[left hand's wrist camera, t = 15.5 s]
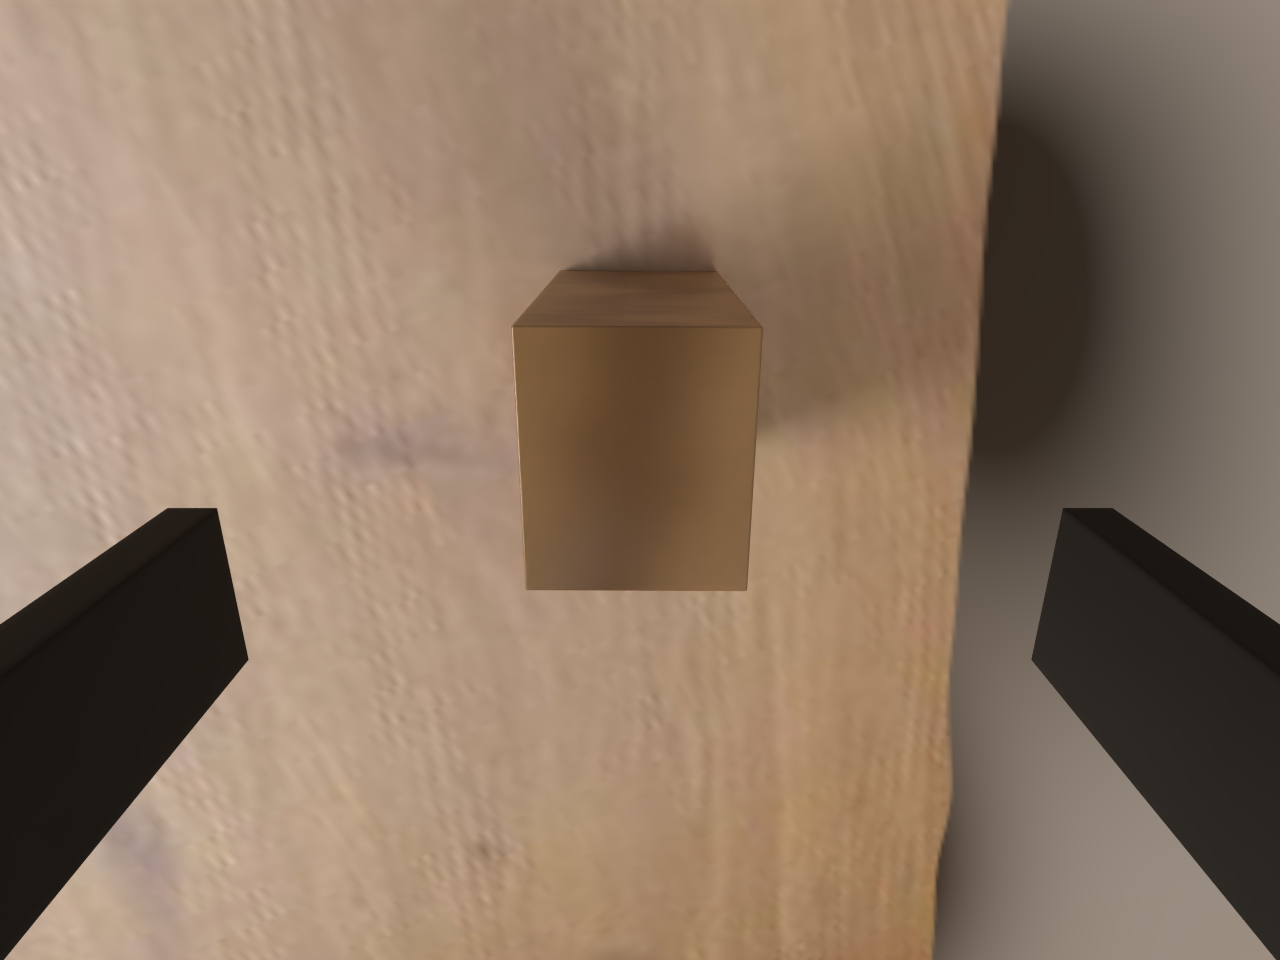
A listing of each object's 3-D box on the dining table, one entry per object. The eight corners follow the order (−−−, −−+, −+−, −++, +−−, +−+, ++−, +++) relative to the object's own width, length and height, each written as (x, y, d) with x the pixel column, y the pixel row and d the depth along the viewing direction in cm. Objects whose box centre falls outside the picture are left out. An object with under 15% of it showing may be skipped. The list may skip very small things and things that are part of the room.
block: (717, 271, 26) (763, 326, 16) (710, 449, 28) (747, 591, 19) (559, 270, 26) (510, 326, 16) (564, 448, 28) (525, 590, 19)
